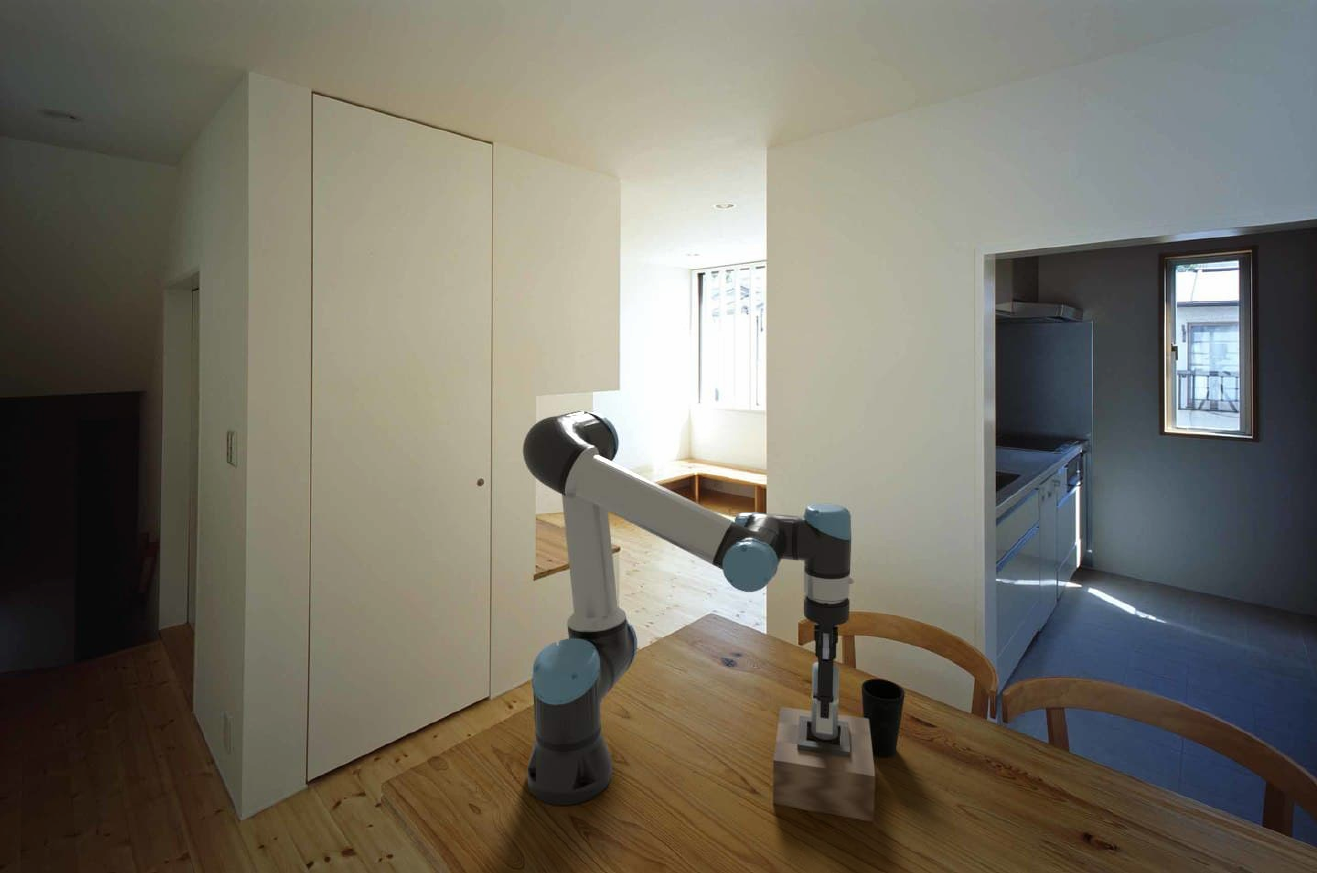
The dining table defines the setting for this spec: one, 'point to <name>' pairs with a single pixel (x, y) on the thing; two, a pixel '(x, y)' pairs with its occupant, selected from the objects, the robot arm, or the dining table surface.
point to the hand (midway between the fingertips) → (824, 723)
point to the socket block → (824, 766)
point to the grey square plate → (823, 741)
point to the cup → (883, 714)
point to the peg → (835, 702)
